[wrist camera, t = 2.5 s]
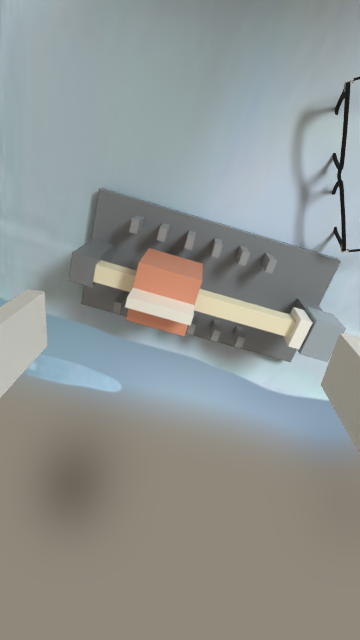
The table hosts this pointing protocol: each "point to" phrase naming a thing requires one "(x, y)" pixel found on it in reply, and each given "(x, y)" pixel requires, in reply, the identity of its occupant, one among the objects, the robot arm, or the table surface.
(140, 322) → the banded orange cube
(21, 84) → the table surface
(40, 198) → the table surface
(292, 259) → the cable comb board
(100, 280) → the cream long bar
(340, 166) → the eyeglasses
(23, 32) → the table surface
